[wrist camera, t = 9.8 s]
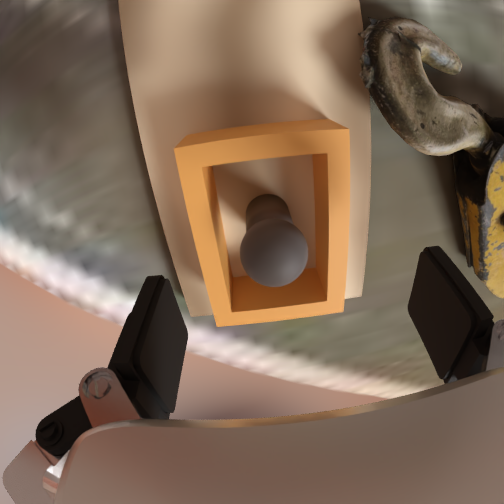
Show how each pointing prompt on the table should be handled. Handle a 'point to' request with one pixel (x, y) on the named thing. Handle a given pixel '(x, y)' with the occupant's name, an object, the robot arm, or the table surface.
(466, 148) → the pulley block
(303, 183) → the keeper board
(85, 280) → the table surface
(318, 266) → the link
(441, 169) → the table surface
